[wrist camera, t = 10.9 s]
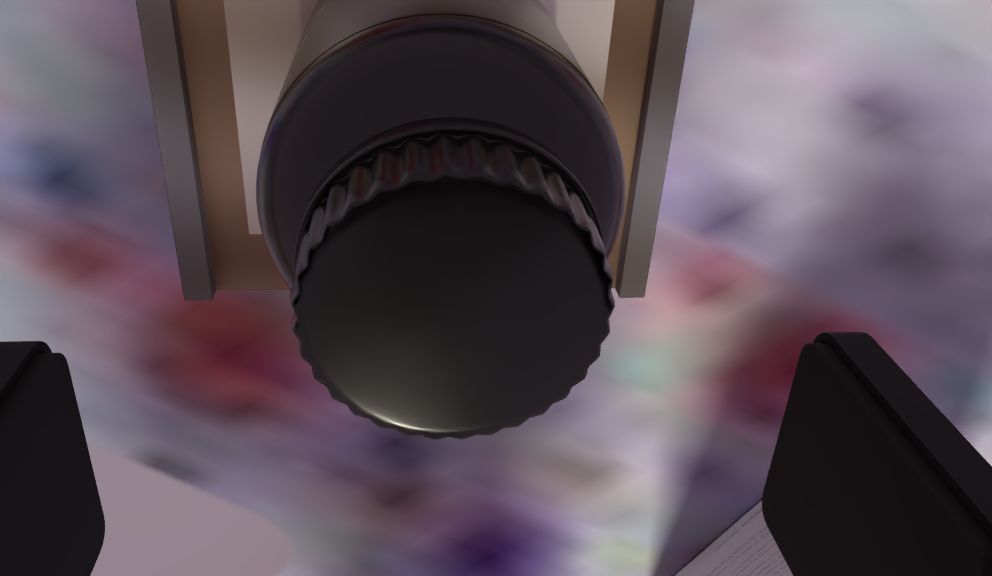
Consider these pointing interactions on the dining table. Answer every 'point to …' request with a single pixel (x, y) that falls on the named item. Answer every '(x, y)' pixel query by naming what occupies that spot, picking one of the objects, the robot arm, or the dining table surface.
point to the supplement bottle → (442, 211)
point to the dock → (262, 72)
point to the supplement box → (741, 551)
